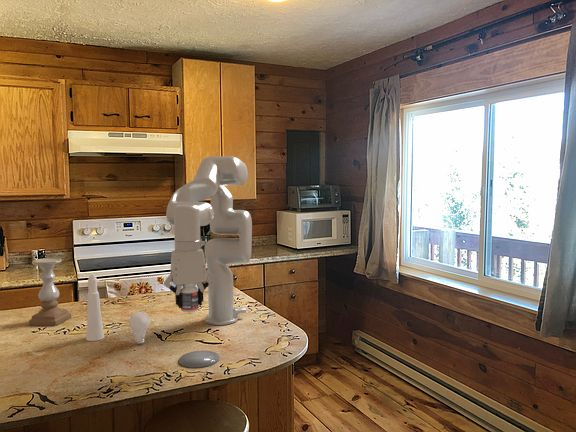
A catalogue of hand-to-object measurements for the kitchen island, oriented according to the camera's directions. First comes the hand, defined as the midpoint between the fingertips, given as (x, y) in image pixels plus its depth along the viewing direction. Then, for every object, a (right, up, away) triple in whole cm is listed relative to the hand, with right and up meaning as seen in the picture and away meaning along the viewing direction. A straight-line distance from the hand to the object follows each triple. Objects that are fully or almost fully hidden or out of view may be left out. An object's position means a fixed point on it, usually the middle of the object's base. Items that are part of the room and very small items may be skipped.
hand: (189, 304), depth 145 cm
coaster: (+3, -17, +2) cm, 17 cm away
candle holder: (-62, -14, +40) cm, 75 cm away
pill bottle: (0, -2, 0) cm, 2 cm away
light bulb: (-20, -16, +15) cm, 30 cm away
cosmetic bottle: (-37, -16, +21) cm, 45 cm away
